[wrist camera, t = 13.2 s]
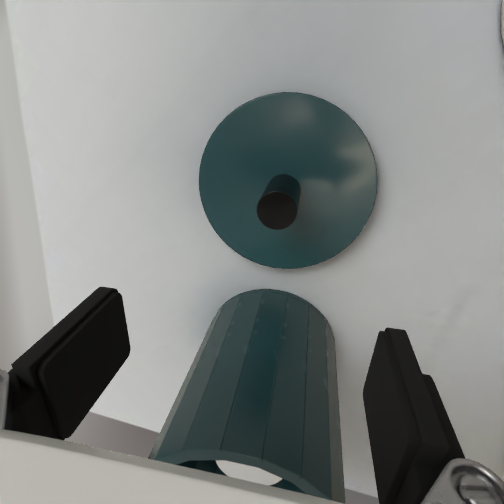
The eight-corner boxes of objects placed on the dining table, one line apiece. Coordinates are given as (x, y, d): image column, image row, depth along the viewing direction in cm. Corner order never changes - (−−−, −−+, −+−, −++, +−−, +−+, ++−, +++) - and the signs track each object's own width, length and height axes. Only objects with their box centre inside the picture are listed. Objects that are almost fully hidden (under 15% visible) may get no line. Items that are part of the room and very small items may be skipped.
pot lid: (179, 125, 23) (141, 133, 18) (358, 63, 20) (372, 53, 15) (233, 273, 28) (214, 312, 23) (386, 245, 25) (403, 284, 20)
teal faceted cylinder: (194, 299, 30) (102, 451, 17) (320, 278, 27) (322, 448, 14) (232, 389, 34) (182, 564, 22) (345, 381, 31) (365, 582, 18)
